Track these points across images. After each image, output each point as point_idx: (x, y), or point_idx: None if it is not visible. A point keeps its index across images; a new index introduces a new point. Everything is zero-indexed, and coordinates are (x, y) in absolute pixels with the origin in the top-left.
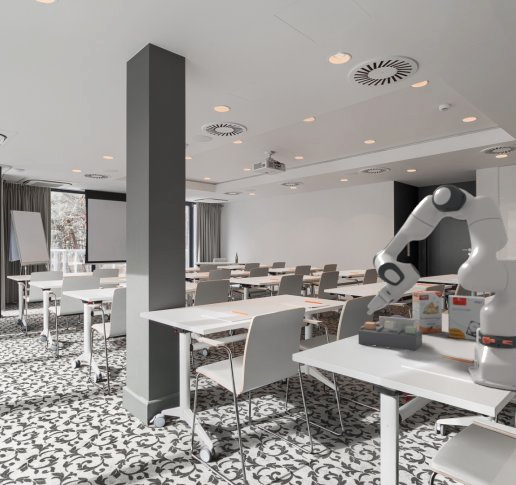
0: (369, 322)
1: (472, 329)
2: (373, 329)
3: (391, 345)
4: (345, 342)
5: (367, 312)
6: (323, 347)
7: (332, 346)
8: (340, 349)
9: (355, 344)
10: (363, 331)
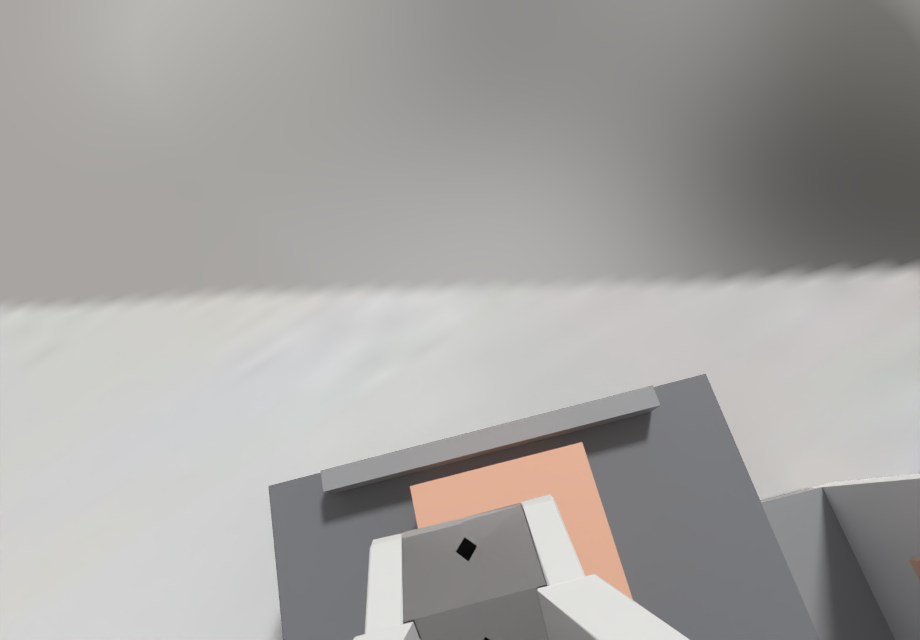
0: None
1: None
2: None
3: None
4: (302, 363)
5: (376, 562)
6: (22, 336)
7: (93, 368)
8: (24, 487)
9: None
10: (278, 565)
